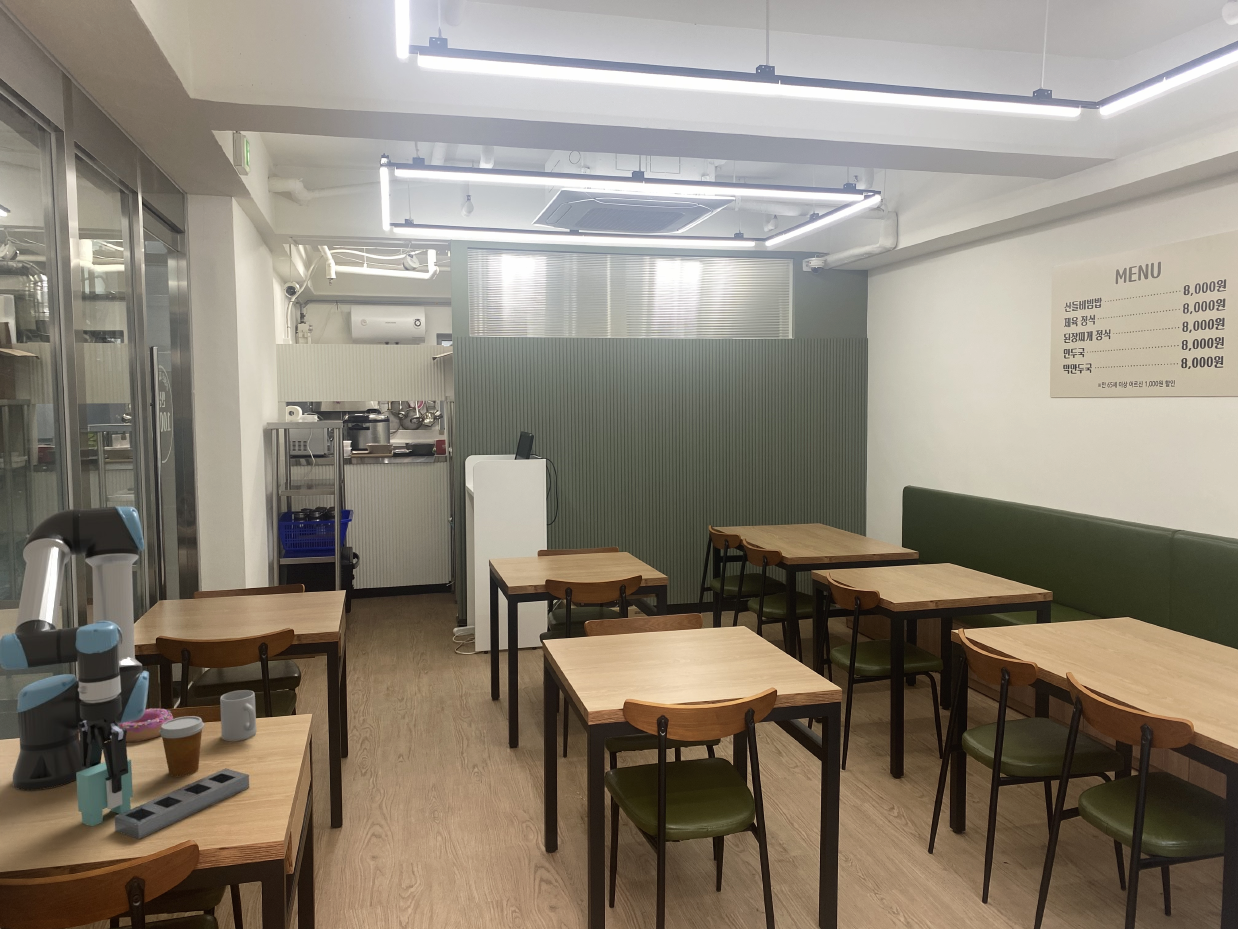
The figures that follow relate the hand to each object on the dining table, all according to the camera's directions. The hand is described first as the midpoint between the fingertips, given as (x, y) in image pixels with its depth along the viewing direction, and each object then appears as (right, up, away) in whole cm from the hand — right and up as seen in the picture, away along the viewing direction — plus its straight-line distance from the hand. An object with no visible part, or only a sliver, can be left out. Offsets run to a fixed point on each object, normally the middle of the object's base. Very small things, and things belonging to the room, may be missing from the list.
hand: (106, 803), depth 178 cm
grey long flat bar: (+15, -2, +3) cm, 16 cm away
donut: (-19, -1, +47) cm, 51 cm away
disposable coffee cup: (+5, -2, +22) cm, 23 cm away
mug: (+9, 0, +44) cm, 45 cm away
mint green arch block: (0, -3, 0) cm, 3 cm away
